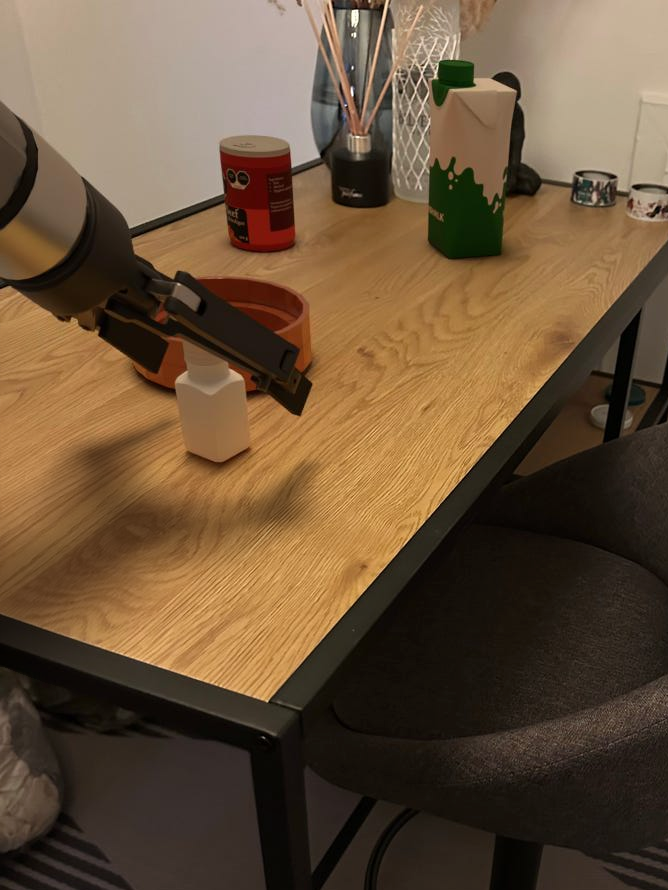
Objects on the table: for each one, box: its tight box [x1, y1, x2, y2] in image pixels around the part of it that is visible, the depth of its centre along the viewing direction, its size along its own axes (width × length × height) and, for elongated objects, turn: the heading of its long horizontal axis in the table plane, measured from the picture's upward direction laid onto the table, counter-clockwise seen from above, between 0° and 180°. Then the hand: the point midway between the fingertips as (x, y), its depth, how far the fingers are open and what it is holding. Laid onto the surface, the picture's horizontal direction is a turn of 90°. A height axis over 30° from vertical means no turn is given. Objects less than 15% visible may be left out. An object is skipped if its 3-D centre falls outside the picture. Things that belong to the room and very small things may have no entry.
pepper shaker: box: [174, 339, 252, 463], centre depth 72 cm, size 4×4×10 cm
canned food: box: [218, 134, 296, 253], centre depth 111 cm, size 8×8×11 cm
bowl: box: [132, 275, 313, 392], centre depth 86 cm, size 16×16×5 cm
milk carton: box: [427, 59, 518, 259], centre depth 111 cm, size 9×9×20 cm
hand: (229, 378), depth 73 cm, fingers open, 13 cm apart
